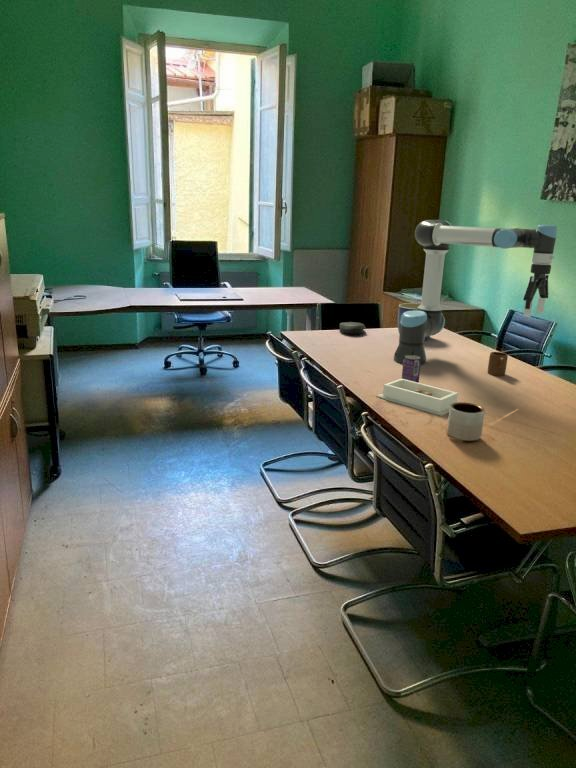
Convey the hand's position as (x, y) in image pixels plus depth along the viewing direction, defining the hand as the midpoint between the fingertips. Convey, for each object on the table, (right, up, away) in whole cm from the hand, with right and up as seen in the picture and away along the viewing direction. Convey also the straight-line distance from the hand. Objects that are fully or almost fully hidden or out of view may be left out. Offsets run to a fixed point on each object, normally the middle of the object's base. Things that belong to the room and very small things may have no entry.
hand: (533, 315), depth 242 cm
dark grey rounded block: (-67, -2, +85) cm, 108 cm away
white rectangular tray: (-54, -36, -25) cm, 69 cm away
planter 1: (-33, -5, +79) cm, 86 cm away
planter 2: (-47, -46, -56) cm, 86 cm away
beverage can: (-53, -30, -4) cm, 61 cm away
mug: (-10, -25, +14) cm, 31 cm away
